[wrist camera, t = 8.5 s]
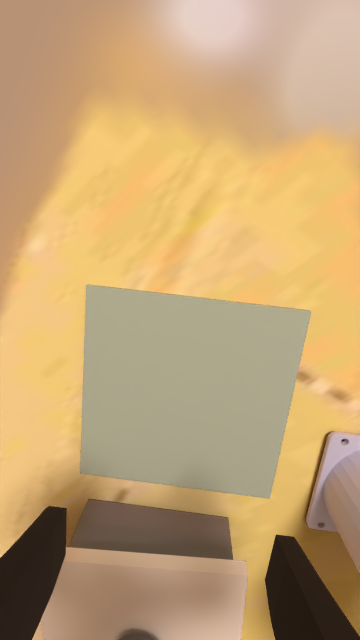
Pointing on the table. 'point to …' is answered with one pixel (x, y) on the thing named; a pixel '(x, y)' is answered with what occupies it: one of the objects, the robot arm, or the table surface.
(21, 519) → the table surface
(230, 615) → the lid
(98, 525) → the dish
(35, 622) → the robot arm
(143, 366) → the mat
